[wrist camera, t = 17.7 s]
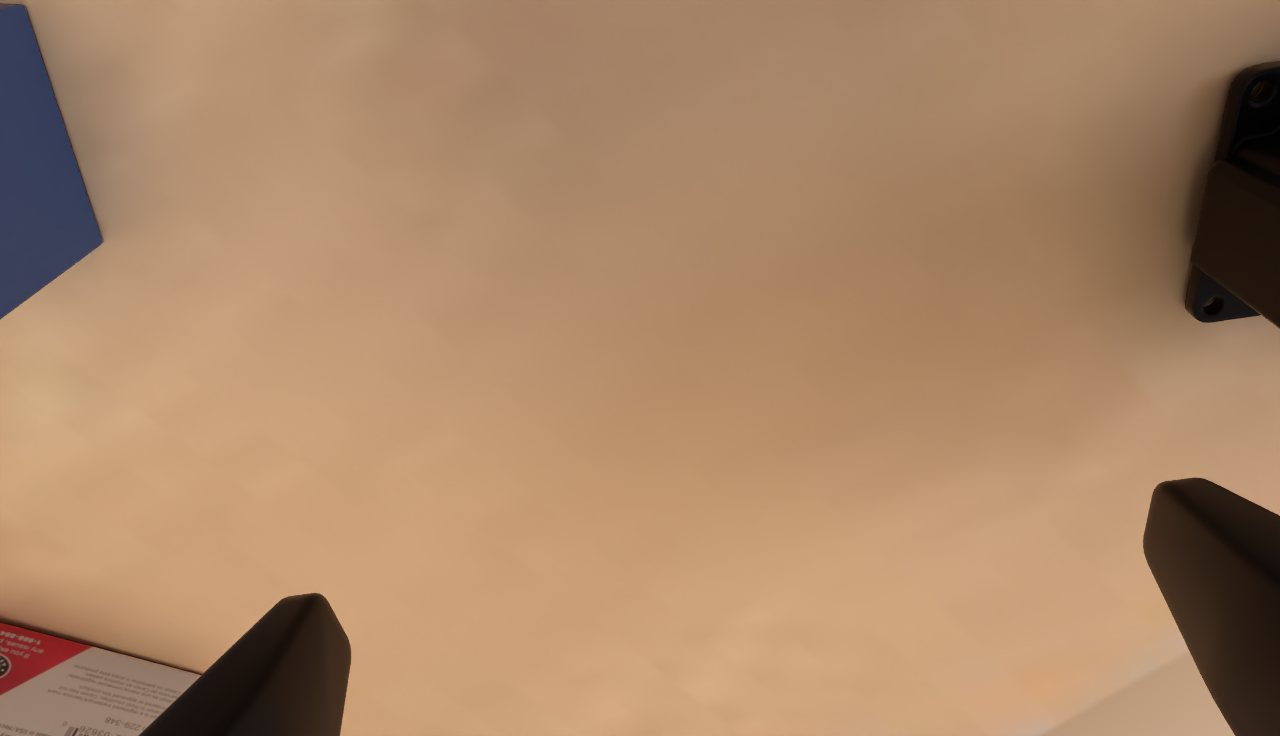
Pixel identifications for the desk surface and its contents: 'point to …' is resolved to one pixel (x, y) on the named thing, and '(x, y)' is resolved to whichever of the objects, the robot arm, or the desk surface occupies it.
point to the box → (35, 173)
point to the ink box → (79, 688)
